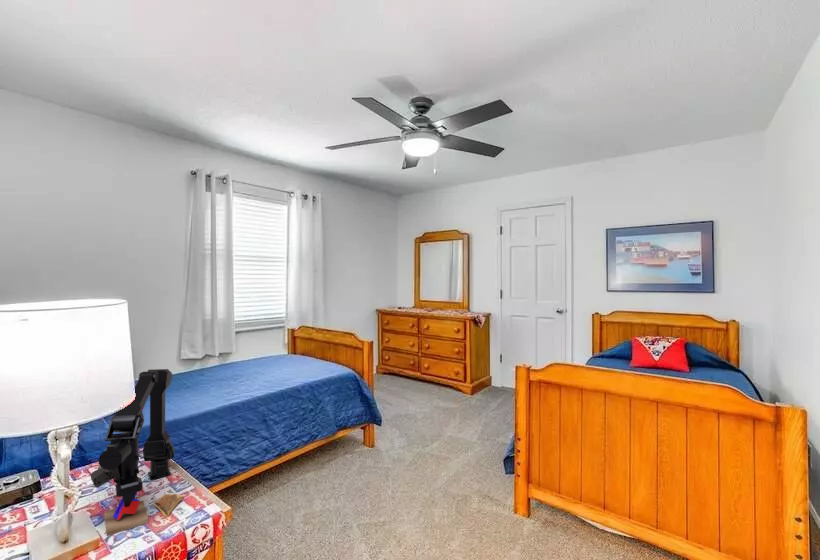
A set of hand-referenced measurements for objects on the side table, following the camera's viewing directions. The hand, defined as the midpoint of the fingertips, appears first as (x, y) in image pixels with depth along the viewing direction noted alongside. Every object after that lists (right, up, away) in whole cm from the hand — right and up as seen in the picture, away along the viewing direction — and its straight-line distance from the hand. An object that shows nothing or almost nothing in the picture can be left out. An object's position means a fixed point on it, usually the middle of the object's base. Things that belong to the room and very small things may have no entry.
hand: (126, 503), depth 121 cm
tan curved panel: (0, -5, 0) cm, 5 cm away
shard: (+9, -5, +8) cm, 13 cm away
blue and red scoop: (0, -3, 0) cm, 3 cm away
